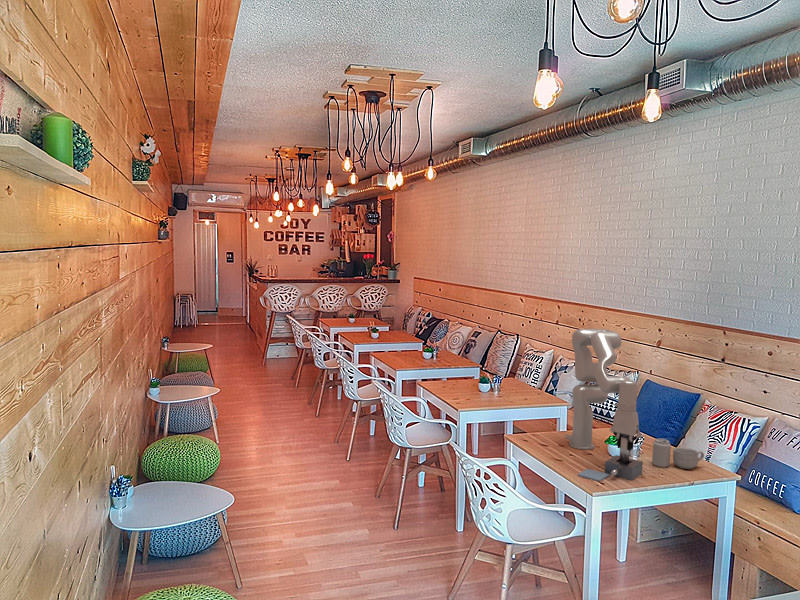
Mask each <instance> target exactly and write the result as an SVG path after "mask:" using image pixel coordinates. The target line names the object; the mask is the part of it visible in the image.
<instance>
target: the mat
mask: <svg viewBox="0 0 800 600" xmlns="http://www.w3.org/2000/svg"><path fill="white" fill-rule="evenodd" d="M577 476H578V477H581V478H584V479H587V478H588V480H590V479H592V480H591V481H594V480H596V481H595V482H598V481H601V480H602V481H604V480H606V479H607V478H608V477H610V475H609V474H606V473H605V472H602V471H598V470H595V469H591V468H586V469H584V470H583V471H580V472H579V473H577ZM606 477H607V478H606ZM605 478H606V479H605ZM603 479H604V480H603ZM602 481H601V482H602Z"/></svg>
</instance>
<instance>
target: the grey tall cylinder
mask: <svg viewBox="0 0 800 600" xmlns="http://www.w3.org/2000/svg"><path fill="white" fill-rule="evenodd" d="M629 440H630V439H629V435H626V434H621V438H620V448H619V456H620V458H619V461H620V462H623V463H628V462H629V458H630V451H629V450H628V442H629Z"/></svg>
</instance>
